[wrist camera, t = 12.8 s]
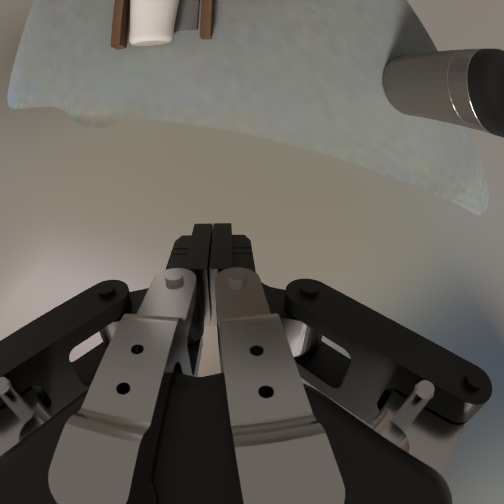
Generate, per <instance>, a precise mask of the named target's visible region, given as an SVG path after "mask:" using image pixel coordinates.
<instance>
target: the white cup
mask: <svg viewBox="0 0 504 504" xmlns="http://www.w3.org/2000/svg"><path fill="white" fill-rule="evenodd" d="M178 5H179V0H130V33H129V42H130V44H132V45H135V46H152V45H161V44H166V43H169V42H171V41H172V40H173V37H174V26H175V20H176V15H177V10H178Z"/></svg>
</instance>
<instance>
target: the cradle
mask: <svg viewBox="0 0 504 504" xmlns="http://www.w3.org/2000/svg"><path fill="white" fill-rule="evenodd" d="M129 5H130V0H115V5H114V14H113V23H112V35H111V47H113V48H116V49H122V48H126V38H127V25H128V14H129ZM198 11H199V0H179V5H178V10H177V15H176V20H175V26H174V31H182V30H197V28H198ZM212 14H213V0H202V6H201V22H200V36H201V39H211V34H212Z"/></svg>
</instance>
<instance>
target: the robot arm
mask: <svg viewBox="0 0 504 504" xmlns="http://www.w3.org/2000/svg"><path fill="white" fill-rule="evenodd" d="M383 86H384V91H385V93H386V96H387V98H388V100H389V101H390V103H391V104H392V105H393V106H394V107H395V108H396V109H397V110H398V111H400V112H402V113H404V114H407V115H412V116H418V117H423V118H428V119H434V120H439V121H443V122H448V123H452V124H457V125H461V126H465V127H469V128H473V129H477V130H481V131H484V132H488V133H491V134H494V135H497V136H501V137H504V51H503V50H499V49H465V50H450V51H440V52H430V53H421V54H413V55H407V56H401V57H396V58H394V59H392V60H391V61H390V62H389V63H388V64H387V66H386V67H385V70H384V73H383ZM211 314H212V315H211ZM211 316H212V319H213V325H217V330H218V345H219V355H220V365H221V373H220V374H215V375H210V376H205V377H197V376H198V370H199V364H200V357H201V352H202V346H203V337H202V335H203V332H204V325H211ZM98 331H99V332H100V334H101V337H102V339H103V342H102V343H101V344H100V345H98V346H96V347H95V348H94V349H92V350H91V351H89V352H87V353H86V354H85V355H83V356H82V357H80V358H79V359H77V360H76V361H74V362H70V361H69V354H70V352H71V350H72V349H73V348H74V347H75V346H77V345H79V344H80V343H82V342H83V341H85V340H86V339H88V338H89V337H90V336H92V335H94V334H95V333H97V332H98ZM322 335H323V336H325V337H326V338H328V339H329V340H331V341H333V342H334V343H336V344H337V345H339V346H341V347H342V348H344V349H345V350H346V351H347V352H348V353H349V355H350V357H351V359H349V358H347V357H346V356H344V355H343V354H341V353H339V352H338V351H336V350H335V349H333V348H332V347H330V346H328V345H327V344H325V343H324V342H322V341H321V339H322ZM301 378H303V379H304V380H306V381H307V382H308V383H310V384H311V385H312V386H314V387H315V388H317V389H318V390H320V391H321V392H322V393H324V394H325V395H327V396H328V397H330V398H331V399H333V400H334V401H336V402H337V403H339V404H340V405H341V406H343V407H344V408H346V409H347V410H349V411H350V412H352V413H353V414H355V415H356V416H358V417H359V418H361V419H362V420H364V421H366V422H367V423H369V424H370V425H372V426H373V429H371V428H370V427H368V426H367V425H366V424H364V423H363V422H361V421H360V420H358V419H357V418H355V417H354V416H353V415H351V414H350V413H349V412H347V411H346V410H344V409H343V408H342V407H340V406H339V405H338V404H336V403H335V402H333V401H332V400H331V399H329V398H328V397H327V396H325V395H324V394H322V393H321V392H320V391H318V390H316V389H314V388H313V387H310V386H308V385H306V384H303V383H302V380H301ZM491 394H492V385H491V381H490V379H489V377H488V376H487V374H486V373H485V372H484V371H483V370H482V369H481V368H479V367H478V366H476V365H474V364H472V363H470V362H469V361H466V360H465V359H463V358H461V357H459V356H458V355H455V354H454V353H452V352H450V351H448V350H446V349H445V348H443V347H441V346H439V345H437V344H435V343H433V342H432V341H430V340H428V339H426V338H424V337H422V336H420V335H418V334H417V333H415V332H413V331H411V330H409V329H408V328H406V327H404V326H402V325H400V324H398V323H396V322H395V321H393V320H391V319H389V318H387V317H385V316H383V315H382V314H379V313H378V312H376V311H374V310H372V309H370V308H369V307H367V306H365V305H363V304H361V303H359V302H357V301H355V300H354V299H352V298H350V297H348V296H346V295H344V294H342V293H341V292H338V291H337V290H335V289H333V288H331V287H329V286H327V285H325V284H324V283H322V282H319V281H316V280H312V279H298V280H294V281H292V282H291V283H289V284H288V285H287V287H286V290H282V289H276V288H272V287H269V286H267V285H265V284H263V283H262V282H261V280H260V278H259V276H258V274H257V273H256V272H255V265H254V259H253V254H252V247H251V241H250V240H249V239H248V238H247V237H246V236H245V235H232V229H231V223H224V224H223V223H221V224H220V223H218V224H214V226H213V225H212V224H195V225H194V228H193V233H192V235H191V236H181V237H180V238H179V239H177V240H176V241H175V243H174V246H173V249H172V252H171V255H170V258H169V261H168V264H167V267H166V270H164V271H162V272H160V273H158V274H157V275H156V276H155V277H154V279H153V281H152V283H151V285H150V287H149V288H147V289H143V290H138V291H133V292H129V289H128V286H127V284H125V283H124V282H122V281H119V280H107V281H103V282H100V283H98V284H96V285H94V286H93V287H91V288H89V289H87V290H85V291H84V292H82V293H80V294H78V295H77V296H75V297H73V298H71V299H70V300H68V301H66V302H64V303H63V304H61V305H59V306H57V307H56V308H54V309H52V310H51V311H49V312H47V313H46V314H44V315H42V316H40V317H39V318H37V319H36V320H34V321H32V322H30V323H29V324H27V325H25V326H24V327H22V328H21V329H19V330H17V331H16V332H14V333H13V334H11V335H9V336H8V337H6V338H5V339H3V340H1V341H0V504H452V495H451V492H450V489H449V487H448V485H447V483H446V481H445V480H444V478H443V477H442V476H441V475H442V473H443V471H444V469H445V467H446V465H447V463H448V461H449V459H450V457H451V455H452V452H453V451H454V448H455V446H456V444H457V442H458V439H459V437H460V434H461V432H462V430H463V427H464V425H465V424H466V423H467V422H468V421H469V420H470V419H471V418H472V417H473V416H474V415H475V414H476V413H477V412H478V411H479V410H480V409H481V408H482V406H483V405H484V404H485V403H486V402H487V401H488V400H489V398H490V396H491Z"/></svg>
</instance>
